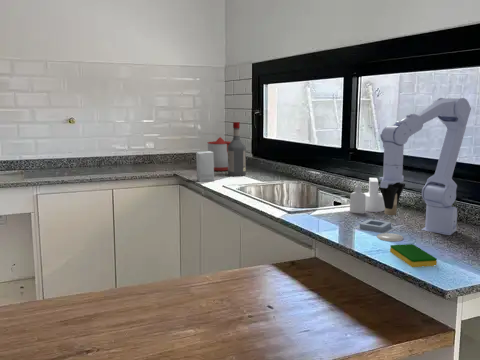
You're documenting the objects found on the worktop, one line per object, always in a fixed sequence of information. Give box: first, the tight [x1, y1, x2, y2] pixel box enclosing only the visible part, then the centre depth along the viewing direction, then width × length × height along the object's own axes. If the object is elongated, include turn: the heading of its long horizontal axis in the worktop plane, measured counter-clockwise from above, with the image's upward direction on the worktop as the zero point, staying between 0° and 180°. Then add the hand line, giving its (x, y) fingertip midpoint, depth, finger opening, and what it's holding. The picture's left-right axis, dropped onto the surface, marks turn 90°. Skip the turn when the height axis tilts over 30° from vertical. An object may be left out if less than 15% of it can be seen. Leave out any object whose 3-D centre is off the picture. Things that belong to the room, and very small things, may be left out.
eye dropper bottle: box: [349, 182, 366, 214], centre depth 194 cm, size 4×6×12 cm
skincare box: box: [195, 150, 215, 183], centre depth 269 cm, size 8×7×16 cm
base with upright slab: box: [363, 177, 385, 213], centre depth 200 cm, size 9×9×12 cm
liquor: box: [227, 121, 247, 178], centre depth 284 cm, size 9×9×30 cm
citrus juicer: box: [207, 136, 231, 172], centre depth 306 cm, size 16×17×20 cm
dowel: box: [383, 193, 398, 216], centre depth 158 cm, size 4×4×6 cm
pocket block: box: [353, 218, 398, 234], centre depth 172 cm, size 12×10×2 cm
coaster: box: [376, 232, 404, 242], centre depth 160 cm, size 8×8×1 cm
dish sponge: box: [389, 243, 438, 268], centre depth 142 cm, size 7×14×2 cm, turn 8°
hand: (391, 207), depth 158 cm, fingers closed on dowel, 4 cm apart
